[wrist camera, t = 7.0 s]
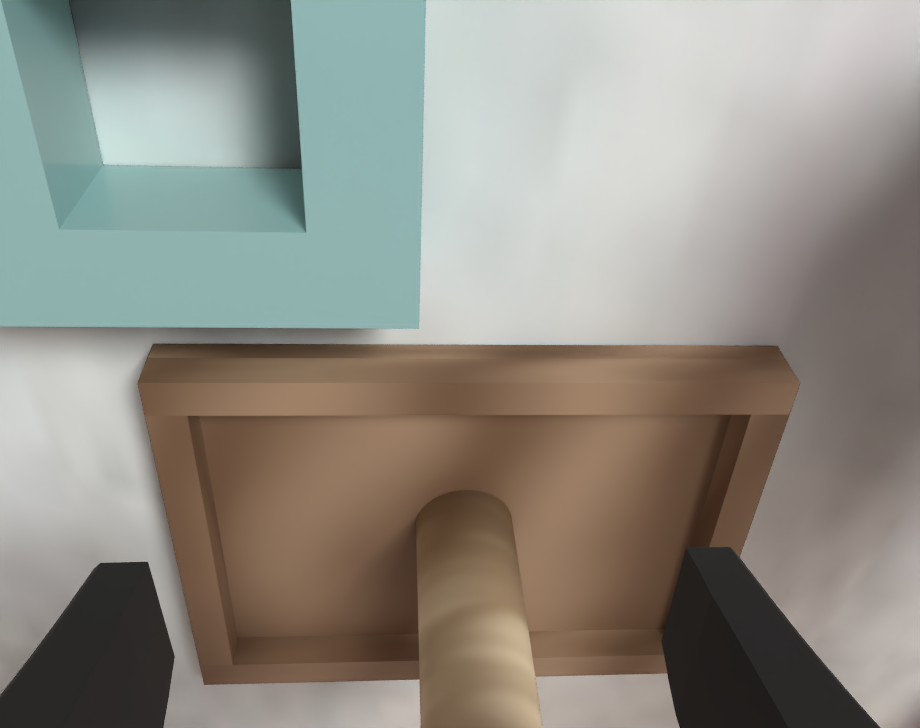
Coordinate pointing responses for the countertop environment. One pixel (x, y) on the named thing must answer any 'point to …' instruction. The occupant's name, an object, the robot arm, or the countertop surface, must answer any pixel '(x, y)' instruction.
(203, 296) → the teal square ring
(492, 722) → the pin
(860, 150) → the countertop surface
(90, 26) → the countertop surface
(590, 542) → the tray
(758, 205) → the countertop surface
